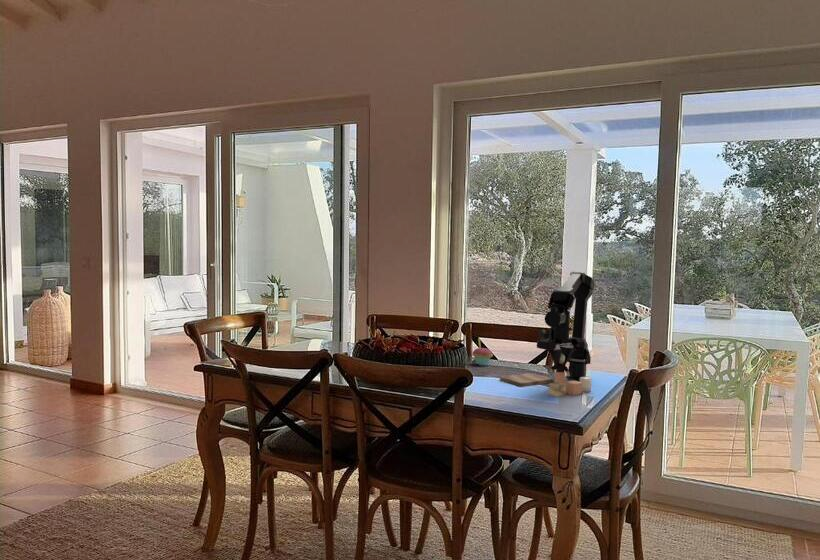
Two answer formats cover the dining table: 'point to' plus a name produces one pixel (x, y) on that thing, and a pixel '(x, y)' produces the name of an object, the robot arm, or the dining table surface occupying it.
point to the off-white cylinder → (586, 384)
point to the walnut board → (526, 379)
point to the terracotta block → (573, 387)
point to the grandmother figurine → (560, 370)
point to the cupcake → (482, 355)
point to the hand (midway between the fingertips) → (559, 367)
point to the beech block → (557, 389)
